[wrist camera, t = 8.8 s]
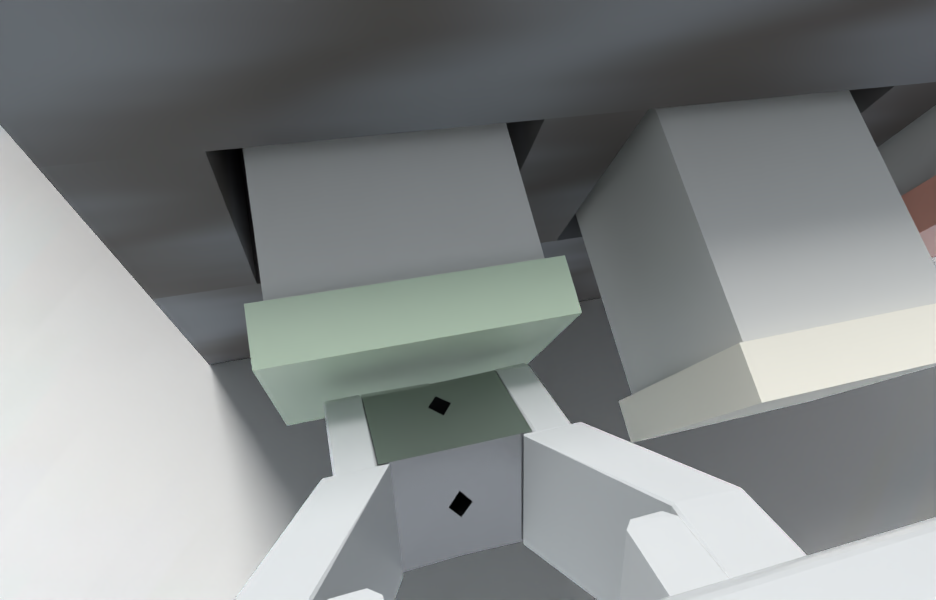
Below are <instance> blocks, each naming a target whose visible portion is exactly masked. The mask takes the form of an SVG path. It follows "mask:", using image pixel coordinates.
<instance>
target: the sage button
mask: <svg viewBox="0 0 936 600" xmlns="http://www.w3.org/2000/svg"><path fill="white" fill-rule="evenodd" d="M243 155H244V163H245V170H246V177H247V185H248V192H249V200H250V207H251V214H252V222H253V229H254V236H255V244H256V251H257V258H258V266H259V273H260V280H261V288H262V295H263V301H259V302H253V303H246V304H244V309H245V317H246V325H247V333H248V341H249V349H250V357H251V365H252V371H253V373H254V374H255V376H256V377H257V379H258V381H259V382H260V384H261V385H262V387H263V389H264V390H265V392H266V393H267V395H268V396H269V398H270V400H271V401H272V403H273V404H274V406H275V408H276V409H277V411H278V412H279V414H280V415H281V417H282V419H283V420H284V422H285V423H286V425H287V426H289V425H294V424H299V423H304V422H309V421H314V420H319V419H324V418H325V414H324V402H325V401H330V400H335V399H340V398H345V397H350V396H355V395H359V396H360V397H361V395H362V394H368V393H374V392H380V391H386V390H391V389H397V388H403V387H409V386H415V385H421V384H427V383H429V384H432V383H436V382H441V381H446V380H451V379H455V378H460V377H465V376H470V375H474V374H479V373H484V372H488V371H492V370H495V369H500V368H504V367H508V366H513V365H517V364H522V363H525V364H528V363H529V362H530V361H532V360H533V359H534V358H535V357H536V356H537V355H538V354H539V353H540V352H541V351H542V350H543V349H544V348H545V347H546V346H547V345H548V344H550V343H551V342H552V341H553V340H554V339H555V338H556V337H557V336H558V335H559V334H560V333H561V332H562V331H563V330H564V329H565V328H566V327H568V326H569V325H570V324H571V323H572V322H573V321H574V320H575V319H576V318H577V317H578V316H579V315H580V314H581V313H582V311H581V307H580V304H579V301H578V297H577V294H576V291H575V287H574V284H573V281H572V277H571V274H570V271H569V267H568V264H567V261H566V257H565V255H563V256H557V257H550V258H544V254H543V251H542V247H541V244H540V240H539V237H538V233H537V230H536V226H535V223H534V219H533V216H532V212H531V209H530V205H529V202H528V198H527V195H526V191H525V188H524V184H523V181H522V178H521V174H520V171H519V167H518V164H517V160H516V157H515V153H514V150H513V146H512V143H511V139H510V136H509V132H508V129H507V125H506V123H499V124H489V125H478V126H468V127H457V128H447V129H436V130H426V131H415V132H405V133H394V134H384V135H373V136H363V137H352V138H342V139H331V140H321V141H310V142H300V143H289V144H279V145H268V146H258V147H247V148H243Z"/></svg>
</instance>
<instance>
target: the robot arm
mask: <svg viewBox="0 0 936 600" xmlns="http://www.w3.org/2000/svg"><path fill="white" fill-rule="evenodd" d="M324 414H325V422H326V429H327V436H328V444H329V451H330V459H331V466H332V473H333V476H330V477H326V478H322V479H321V480H320V482H319V483H318V485H317V486H316V487H315V489H314V490H313V491H312V493H311V494H310V496H309V497H308V498H307V500H306V501H305V503H304V504H303V505H302V507H301V508H300V509H299V511H298V512H297V514H296V515H295V516H294V518H293V519H292V520H291V522H290V523H289V525H288V526H287V527H286V529H285V530H284V531H283V533H282V534H281V536H280V537H279V538H278V540H277V541H276V542H275V544H274V545H273V547H272V548H271V549H270V551H269V552H268V554H267V555H266V556H265V558H264V559H263V560H262V562H261V563H260V565H259V566H258V567H257V569H256V570H255V571H254V573H253V574H252V576H251V577H250V578H249V580H248V581H247V582H246V584H245V585H244V587H243V588H242V589H241V591H240V592H239V594H238V595H237V596H236V598H235V599H234V600H395V598H396V596H397V593H398V590H399V588H400V585H401V582H402V580H403V577H404V575H403V573H404V572H407V571H411V570H414V569H417V568H421V567H424V566H428V565H431V564H435V563H438V562H442V561H445V560H448V559H452V558H455V557H459V556H462V555H466V554H471V553H475V552H479V551H484V550H488V549H492V548H497V547H501V546H505V545H510V544H514V543H518V542H523V544H524V545H525V546H526V547H528V548H529V549H530V550H532V551H533V552H534V553H536V554H537V555H538V556H540V557H541V558H542V559H544V560H545V561H546V562H548V563H549V564H550V565H552V566H553V567H554V568H556V569H557V570H558V571H560V572H561V573H562V574H564V575H565V576H566V577H567V578H569V579H570V580H571V581H573V582H574V583H575V584H577V585H578V586H579V587H581V588H582V589H583V590H585V591H586V592H587V593H589V594H590V595H591V596H593V597H594V598H595V599H597V600H936V517H933V518H930V519H927V520H923V521H920V522H917V523H913V524H910V525H906V526H903V527H900V528H896V529H893V530H890V531H886V532H883V533H880V534H876V535H873V536H870V537H866V538H863V539H860V540H856V541H853V542H850V543H846V544H843V545H840V546H836V547H833V548H830V549H826V550H823V551H820V552H816V553H813V554H810V555H806V554H805V553H804V552H803V551H802V549H801V548H800V547H799V546H798V545H797V544H796V543H795V542H794V541H793V540H792V539H791V538H790V537H789V536H788V535H787V534H786V533H785V532H784V531H783V530H782V529H781V528H780V527H779V526H778V525H777V524H776V523H775V522H774V521H773V520H772V519H771V518H770V517H769V515H768V514H767V513H766V512H765V511H764V510H763V509H762V508H761V507H760V506H759V505H758V504H757V503H756V502H755V501H754V500H753V499H752V498H751V497H750V496H749V495H748V494H747V493H746V492H745V491H744V490H743V489H742V488H741V487H738V486H736V485H733V484H731V483H729V482H726V481H724V480H721V479H719V478H716V477H714V476H711V475H709V474H707V473H704V472H702V471H699V470H697V469H694V468H692V467H690V466H687V465H685V464H682V463H680V462H677V461H675V460H673V459H670V458H668V457H665V456H663V455H660V454H658V453H656V452H653V451H651V450H648V449H646V448H643V447H641V446H639V445H636V444H634V443H631V442H629V441H626V440H624V439H621V438H619V437H617V436H614V435H612V434H609V433H607V432H604V431H602V430H600V429H597V428H595V427H592V426H590V425H587V424H585V423H583V422H578V423H573V424H571V422H570V421H569V420H568V418H567V417H566V416H565V414H564V413H563V411H562V410H561V409H560V407H559V406H558V405H557V403H556V402H555V401H554V399H553V398H552V396H551V395H550V394H549V392H548V391H547V390H546V388H545V387H544V385H543V384H542V383H541V381H540V380H539V379H538V377H537V376H536V375H535V373H534V372H533V370H532V369H531V368H530V366H529V365H527V364H525V363H522V364H517V365H513V366H508V367H504V368H500V369H495V370H492V371H488V372H484V373H479V374H474V375H470V376H465V377H460V378H455V379H451V380H446V381H441V382H436V383H432V384H429V383H427V384H421V385H415V386H409V387H403V388H397V389H391V390H386V391H380V392H374V393H368V394H362V395H361V397H360V396H359V395H355V396H350V397H345V398H340V399H335V400H330V401H325V402H324Z"/></svg>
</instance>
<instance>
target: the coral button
mask: <svg viewBox="0 0 936 600" xmlns="http://www.w3.org/2000/svg"><path fill="white" fill-rule="evenodd" d="M877 148H878V150H879V152H880V154H881V156H882V158H883V160H884V162H885V164H886V166H887V168H888V170H889V172H890V175H891V177H892V179H893V181H894V183H895V185H896V187H897V189H898V191H899V193H900V195H901V197H902V199H903V201H904V203H905V205H906V207H907V209H908V211H909V213H910V215H911V217H912V219H913V221H914V223H915V225H916V227H917V229H918V231H919V234H920V236H921V238H922V240H923V242H924V244H925V246H926V248H927V250H928V252H929V254H930V256H931V257H936V105H935V106H934V107H932V108H931V109H930V110H928V111H927V112H925V113H924V114H923V115H921V116H920V117H919V118H917V119H916V120H914V121H913V122H912V123H910V124H909V125H908V126H906V127H905V128H903V129H902V130H901V131H899V132H898V133H897V134H895V135H894V136H892V137H891V138H890V139H888V140H887V141H886V142H884V143H883V144H881V145H880V146H879V147H877Z"/></svg>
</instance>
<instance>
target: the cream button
mask: <svg viewBox="0 0 936 600" xmlns="http://www.w3.org/2000/svg"><path fill="white" fill-rule="evenodd" d="M575 214H576V217H577V221H578V224H579V227H580V230H581V233H582V237H583V240H584V243H585V246H586V250H587V253H588V256H589V259H590V262H591V266H592V269H593V272H594V275H595V278H596V282H597V285H598V288H599V291H600V295H601V298H602V301H603V304H604V307H605V311H606V314H607V317H608V320H609V324H610V327H611V330H612V333H613V336H614V340H615V343H616V346H617V349H618V352H619V356H620V359H621V362H622V365H623V369H624V372H625V375H626V378H627V381H628V385H629V388H630V391H631V394H632V395H630V396H628V397H626V398H624V399H622V400H620V401H619V404H620V408H621V411H622V414H623V418H624V421H625V424H626V428H627V431H628V434H629V437H630V441H631V443H634V442H639V441H643V440H647V439H652V438H656V437H660V436H664V435H669V434H673V433H677V432H682V431H686V430H690V429H694V428H699V427H703V426H707V425H711V424H716V423H720V422H724V421H729V420H733V419H737V418H741V417H746V416H750V415H754V414H758V413H763V412H767V411H771V410H776V409H780V408H784V407H788V406H793V405H797V404H801V403H806V402H810V401H814V400H817V399H821V398H824V397H828V396H831V395H835V394H839V393H842V392H846V391H849V390H853V389H856V388H860V387H864V386H867V385H871V384H874V383H878V382H881V381H885V380H889V379H892V378H896V377H899V376H903V375H906V374H910V373H914V372H917V371H921V370H924V369H928V368H931V367H935V366H936V266H935V264H934V262H933V260H932V258H931V256H930V254H929V252H928V250H927V248H926V246H925V244H924V242H923V240H922V238H921V236H920V234H919V231H918V229H917V227H916V225H915V223H914V221H913V219H912V217H911V215H910V213H909V211H908V209H907V207H906V205H905V203H904V201H903V199H902V197H901V195H900V193H899V191H898V189H897V187H896V185H895V183H894V181H893V179H892V177H891V175H890V172H889V170H888V168H887V166H886V164H885V162H884V160H883V158H882V156H881V154H880V152H879V150H878V148H877V146H876V144H875V142H874V140H873V138H872V136H871V134H870V132H869V130H868V128H867V126H866V124H865V122H864V120H863V118H862V116H861V113H860V111H859V109H858V107H857V105H856V103H855V101H854V99H853V97H852V95H851V93H850V91H849V90H846V91H836V92H825V93H815V94H804V95H794V96H783V97H773V98H762V99H752V100H741V101H731V102H720V103H710V104H699V105H689V106H678V107H668V108H657V109H649V110H648V111H647V113H646V114H645V115H644V117H643V118H642V120H641V121H640V123H639V124H638V125H637V127H636V128H635V130H634V131H633V132H632V134H631V135H630V137H629V138H628V140H627V141H626V142H625V144H624V145H623V147H622V148H621V150H620V151H619V152H618V154H617V155H616V157H615V158H614V159H613V161H612V162H611V164H610V165H609V167H608V168H607V169H606V171H605V172H604V174H603V175H602V176H601V178H600V179H599V181H598V182H597V184H596V185H595V186H594V188H593V189H592V191H591V192H590V193H589V195H588V196H587V198H586V199H585V201H584V202H583V203H582V205H581V206H580V208H579V209H578V211H577V212H576V213H575Z"/></svg>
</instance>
